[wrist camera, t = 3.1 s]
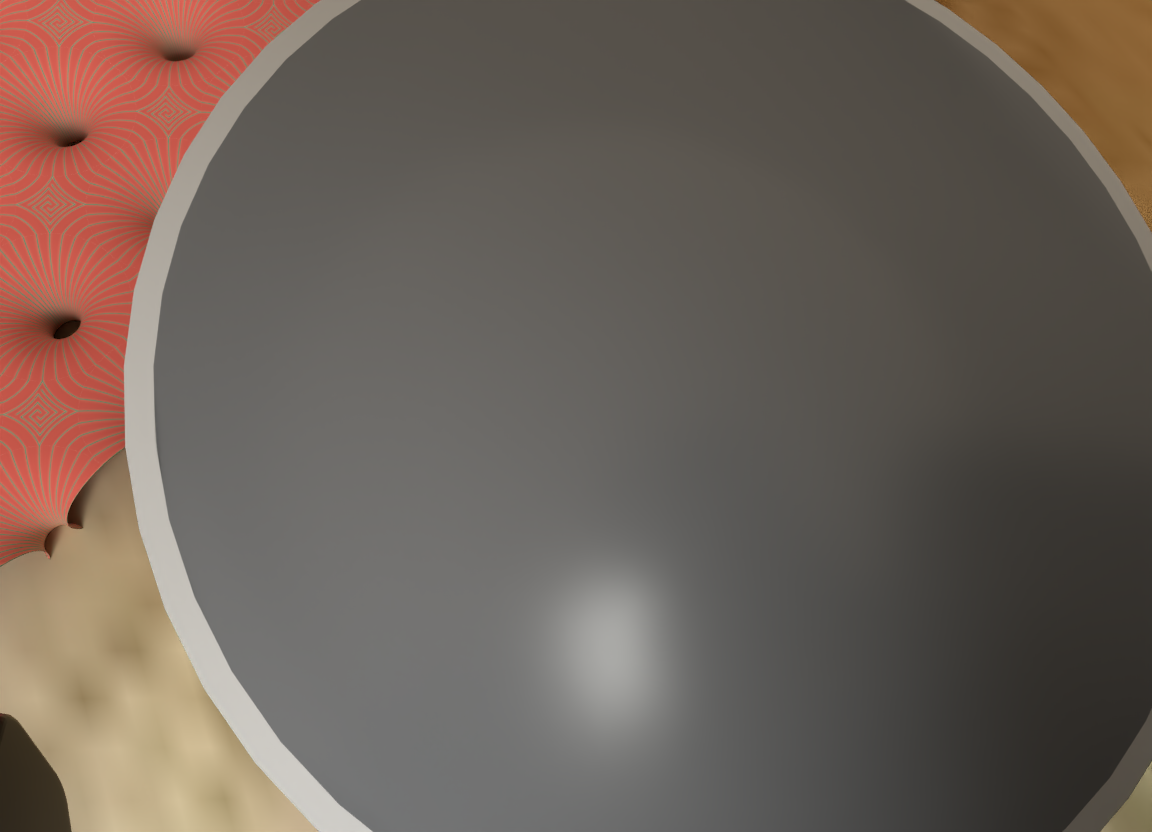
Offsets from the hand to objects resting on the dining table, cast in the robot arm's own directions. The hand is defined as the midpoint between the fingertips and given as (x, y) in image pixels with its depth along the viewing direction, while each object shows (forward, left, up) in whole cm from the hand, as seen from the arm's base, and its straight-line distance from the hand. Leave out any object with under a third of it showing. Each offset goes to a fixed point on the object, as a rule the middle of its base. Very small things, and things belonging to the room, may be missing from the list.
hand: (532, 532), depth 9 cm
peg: (0, 0, -8) cm, 8 cm away
